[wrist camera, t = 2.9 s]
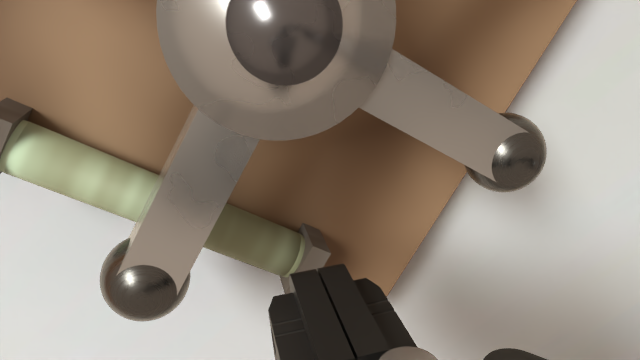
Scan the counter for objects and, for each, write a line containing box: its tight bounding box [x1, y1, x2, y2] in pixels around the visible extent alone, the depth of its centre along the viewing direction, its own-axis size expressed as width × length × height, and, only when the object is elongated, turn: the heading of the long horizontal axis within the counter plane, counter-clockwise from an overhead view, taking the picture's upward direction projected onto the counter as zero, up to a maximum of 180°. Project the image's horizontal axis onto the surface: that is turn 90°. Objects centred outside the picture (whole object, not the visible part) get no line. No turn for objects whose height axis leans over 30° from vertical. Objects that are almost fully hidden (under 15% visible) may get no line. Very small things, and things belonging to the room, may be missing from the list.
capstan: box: [100, 0, 547, 321], centre depth 15 cm, size 20×20×5 cm
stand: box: [0, 0, 577, 297], centre depth 17 cm, size 19×17×4 cm
